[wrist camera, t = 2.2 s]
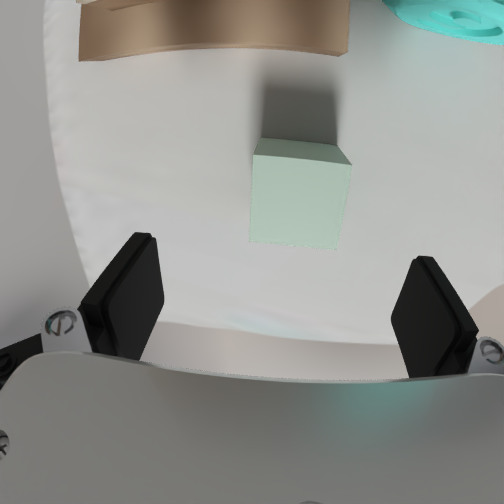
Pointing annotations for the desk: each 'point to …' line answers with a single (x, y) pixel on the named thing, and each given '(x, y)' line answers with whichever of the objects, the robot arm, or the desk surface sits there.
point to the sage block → (298, 193)
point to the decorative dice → (455, 17)
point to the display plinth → (211, 26)
